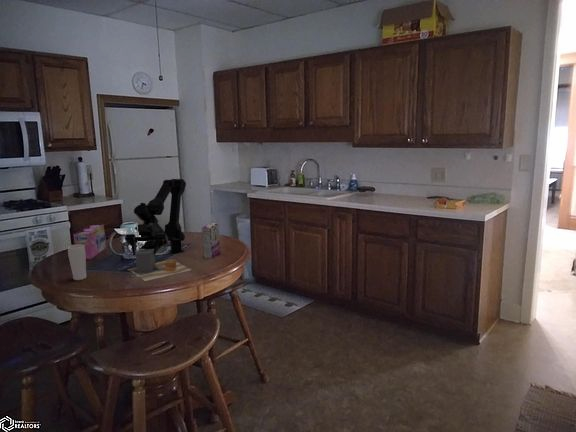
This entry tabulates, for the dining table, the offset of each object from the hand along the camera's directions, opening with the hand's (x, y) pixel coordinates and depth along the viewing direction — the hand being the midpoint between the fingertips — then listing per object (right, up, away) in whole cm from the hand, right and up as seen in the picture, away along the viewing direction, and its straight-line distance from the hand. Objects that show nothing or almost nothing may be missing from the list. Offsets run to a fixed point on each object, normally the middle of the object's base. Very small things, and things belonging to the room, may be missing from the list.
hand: (143, 254), depth 193 cm
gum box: (-40, -3, +36) cm, 54 cm away
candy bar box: (+27, -3, +25) cm, 37 cm away
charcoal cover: (0, -7, +3) cm, 8 cm away
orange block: (+12, -7, +3) cm, 14 cm away
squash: (-12, +1, +48) cm, 50 cm away
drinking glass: (-27, -10, -5) cm, 29 cm away
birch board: (+6, -8, +4) cm, 10 cm away
